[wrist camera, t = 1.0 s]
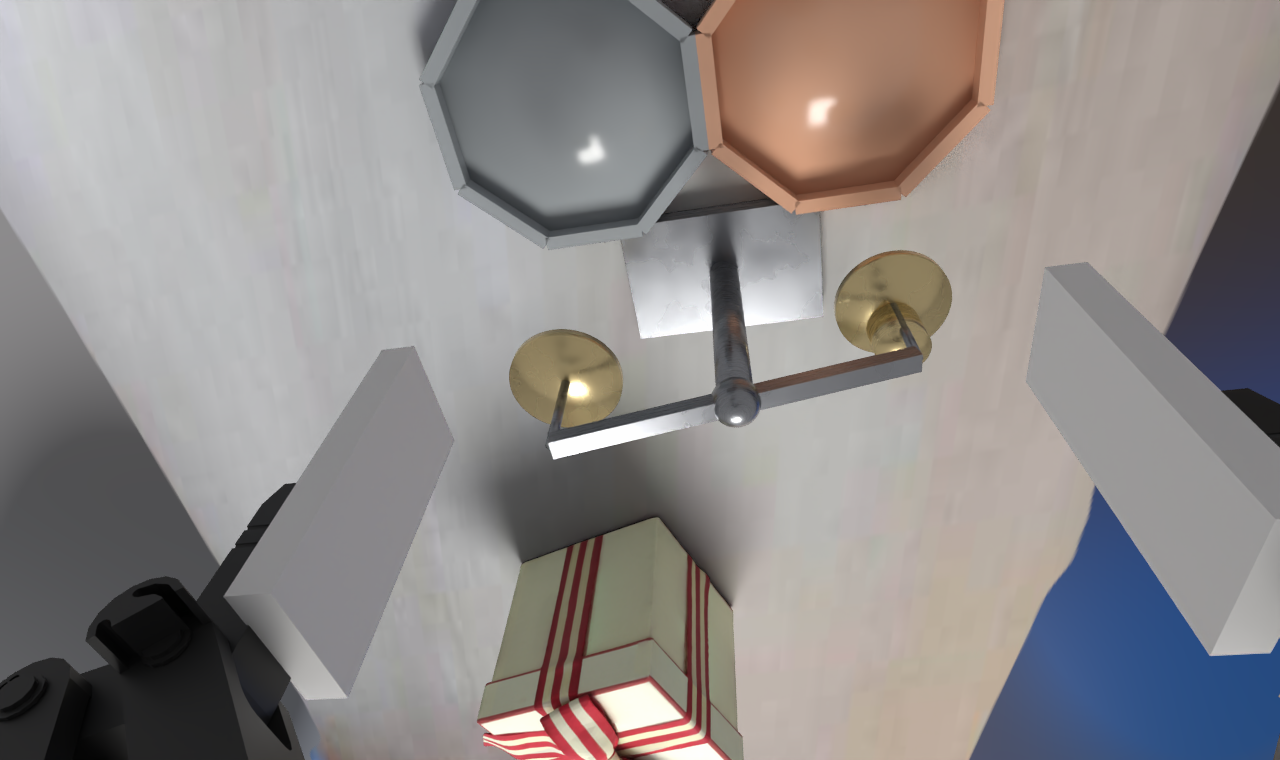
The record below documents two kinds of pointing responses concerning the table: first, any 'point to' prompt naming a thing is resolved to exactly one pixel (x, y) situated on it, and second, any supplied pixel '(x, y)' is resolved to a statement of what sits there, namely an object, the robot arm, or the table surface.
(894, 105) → the terracotta dish
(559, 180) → the slate dish
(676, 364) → the table surface
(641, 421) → the balance
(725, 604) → the gift box
